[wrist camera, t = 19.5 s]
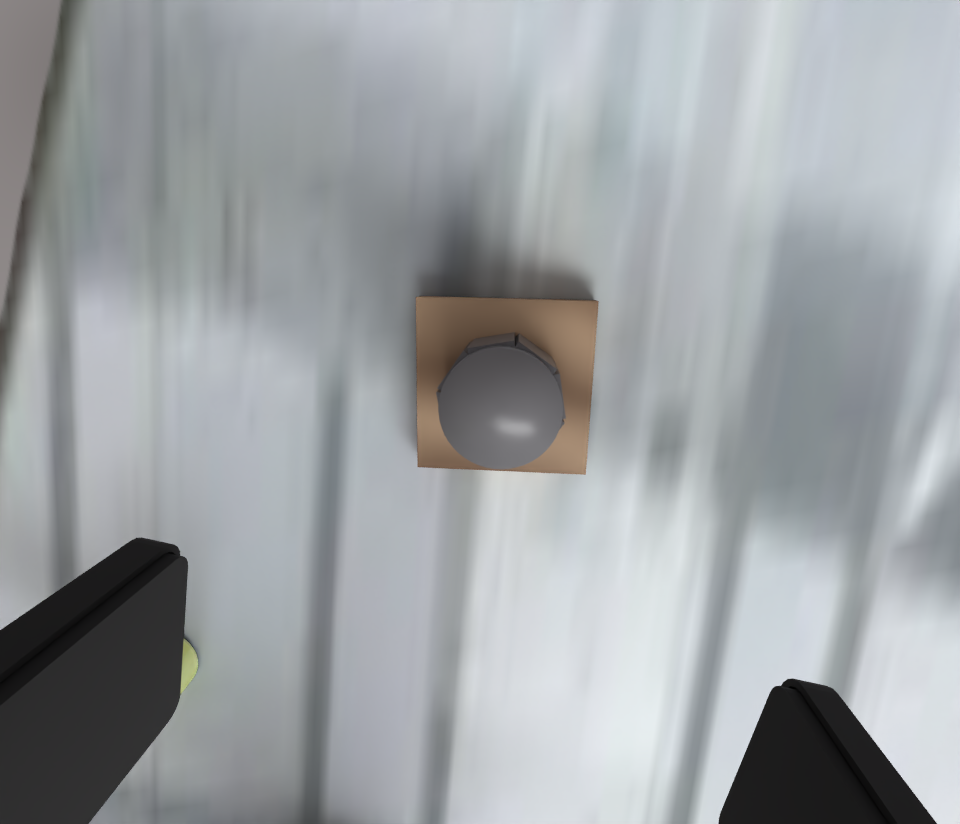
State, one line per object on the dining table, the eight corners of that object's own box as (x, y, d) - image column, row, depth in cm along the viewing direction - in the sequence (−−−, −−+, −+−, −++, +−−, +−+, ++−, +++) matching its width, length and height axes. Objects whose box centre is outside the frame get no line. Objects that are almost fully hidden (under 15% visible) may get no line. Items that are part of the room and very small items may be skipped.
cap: (428, 400, 31) (411, 423, 26) (490, 312, 29) (484, 319, 25) (515, 460, 31) (514, 494, 27) (580, 377, 30) (591, 396, 25)
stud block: (582, 465, 33) (593, 499, 28) (421, 458, 33) (405, 490, 28) (594, 300, 30) (609, 305, 25) (420, 296, 31) (402, 300, 26)
